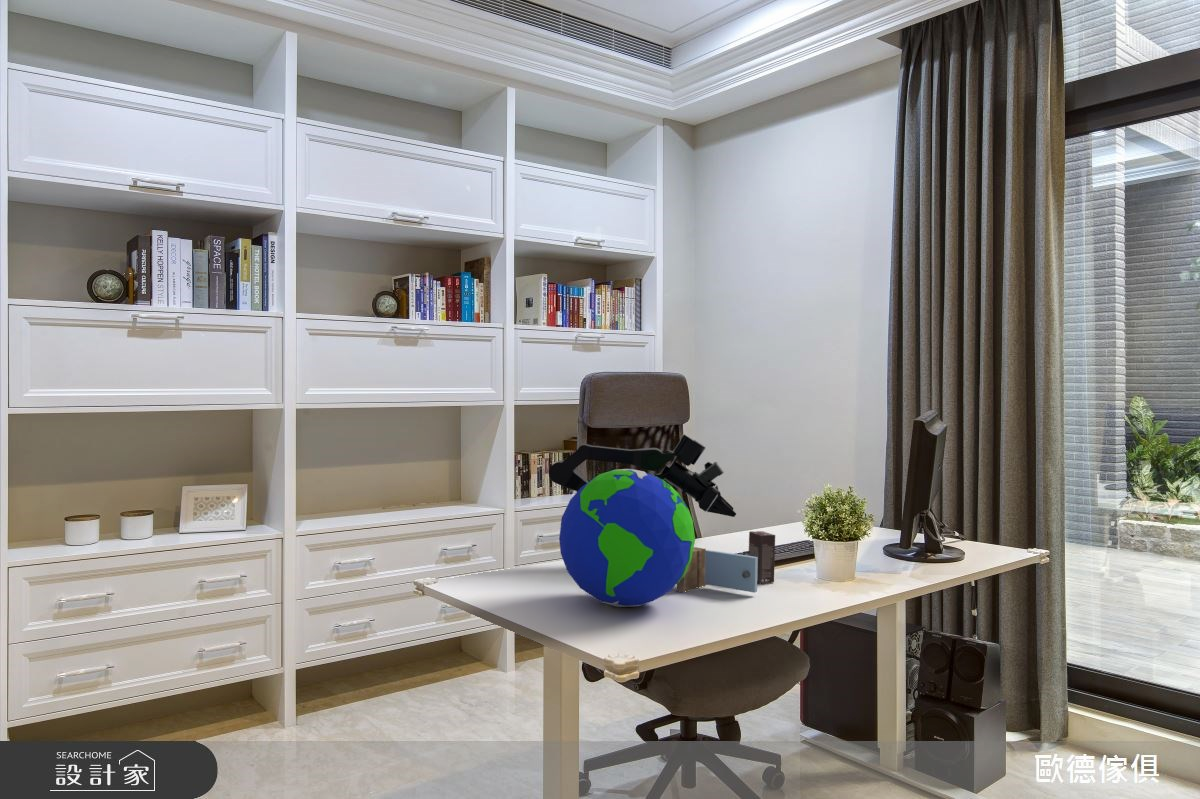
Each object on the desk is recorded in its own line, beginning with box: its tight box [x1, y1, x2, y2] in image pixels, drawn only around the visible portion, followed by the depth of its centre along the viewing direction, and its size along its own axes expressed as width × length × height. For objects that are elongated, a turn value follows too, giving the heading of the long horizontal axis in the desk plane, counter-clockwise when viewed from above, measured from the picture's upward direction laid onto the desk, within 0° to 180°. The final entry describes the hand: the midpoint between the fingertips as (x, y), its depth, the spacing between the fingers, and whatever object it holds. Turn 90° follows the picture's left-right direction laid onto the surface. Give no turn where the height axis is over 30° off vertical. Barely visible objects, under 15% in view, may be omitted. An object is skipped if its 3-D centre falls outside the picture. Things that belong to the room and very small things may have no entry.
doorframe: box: [676, 546, 707, 593], centre depth 202 cm, size 22×3×9 cm, turn 142°
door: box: [705, 549, 758, 594], centre depth 193 cm, size 13×2×8 cm, turn 54°
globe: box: [558, 468, 696, 608], centre depth 181 cm, size 30×30×30 cm
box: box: [748, 530, 776, 585], centre depth 205 cm, size 6×4×12 cm
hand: (734, 512), depth 217 cm, fingers open, 9 cm apart
